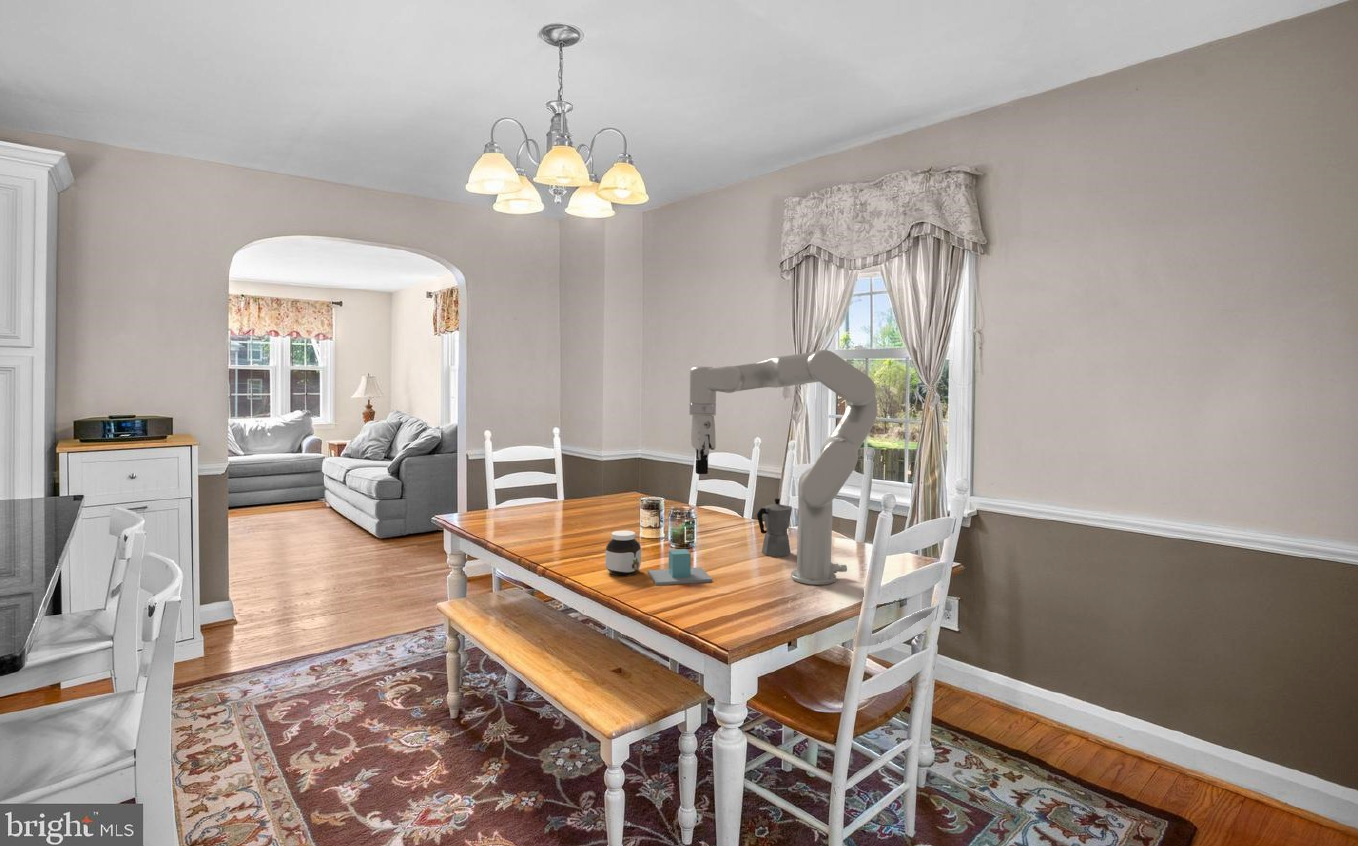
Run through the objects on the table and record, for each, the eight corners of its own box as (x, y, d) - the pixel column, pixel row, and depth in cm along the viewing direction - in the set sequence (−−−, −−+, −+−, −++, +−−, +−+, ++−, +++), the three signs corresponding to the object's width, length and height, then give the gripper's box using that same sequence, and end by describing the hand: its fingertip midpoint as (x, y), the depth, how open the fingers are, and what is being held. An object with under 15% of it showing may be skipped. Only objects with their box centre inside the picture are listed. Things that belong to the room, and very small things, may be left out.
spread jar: (619, 578, 197) (619, 538, 197) (593, 570, 205) (593, 531, 204) (649, 570, 206) (649, 531, 205) (623, 563, 214) (623, 525, 213)
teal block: (686, 571, 203) (686, 548, 202) (690, 576, 197) (690, 553, 197) (668, 572, 201) (668, 549, 201) (672, 577, 196) (672, 554, 196)
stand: (700, 569, 207) (701, 550, 207) (712, 581, 196) (712, 561, 195) (647, 572, 203) (647, 553, 203) (656, 585, 192) (656, 564, 191)
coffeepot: (779, 547, 235) (780, 494, 234) (800, 553, 228) (802, 498, 226) (746, 554, 225) (747, 499, 224) (767, 561, 218) (769, 503, 217)
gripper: (723, 411, 194) (721, 477, 196) (708, 408, 209) (707, 469, 210) (696, 411, 192) (695, 477, 194) (683, 408, 207) (682, 470, 208)
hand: (701, 473), depth 202 cm, fingers closed
